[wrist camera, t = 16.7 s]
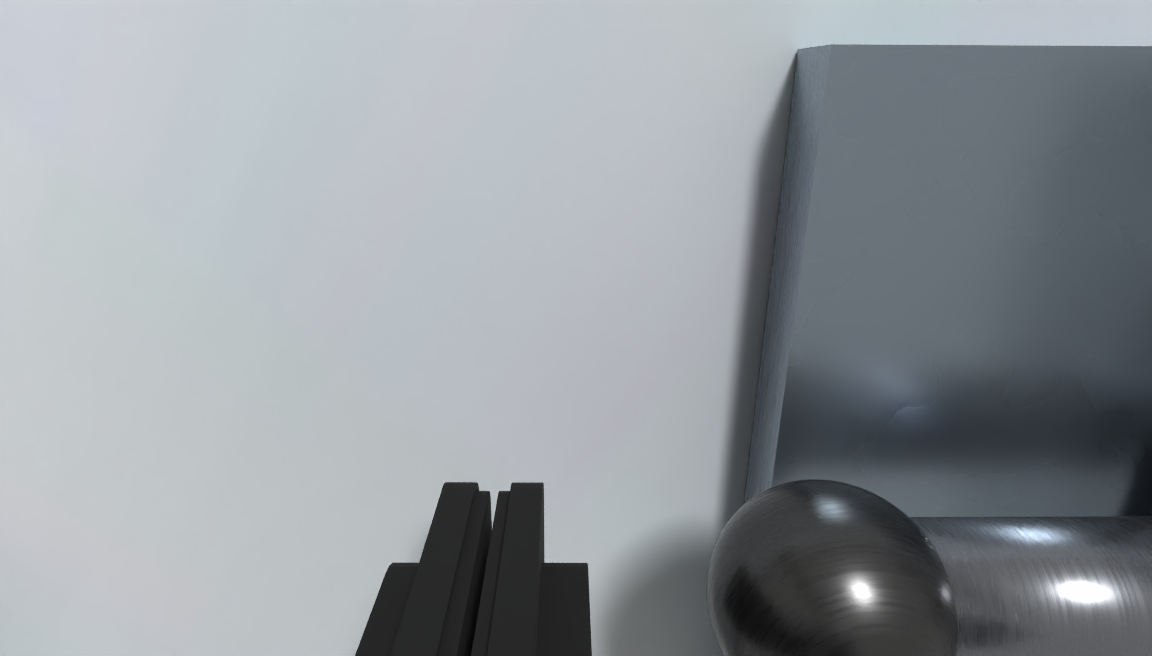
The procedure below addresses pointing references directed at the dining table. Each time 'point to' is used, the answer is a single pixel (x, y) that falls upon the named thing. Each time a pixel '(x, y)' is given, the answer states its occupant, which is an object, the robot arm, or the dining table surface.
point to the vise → (964, 281)
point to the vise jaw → (924, 580)
